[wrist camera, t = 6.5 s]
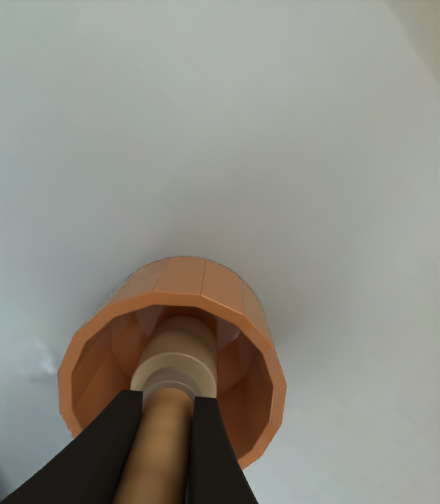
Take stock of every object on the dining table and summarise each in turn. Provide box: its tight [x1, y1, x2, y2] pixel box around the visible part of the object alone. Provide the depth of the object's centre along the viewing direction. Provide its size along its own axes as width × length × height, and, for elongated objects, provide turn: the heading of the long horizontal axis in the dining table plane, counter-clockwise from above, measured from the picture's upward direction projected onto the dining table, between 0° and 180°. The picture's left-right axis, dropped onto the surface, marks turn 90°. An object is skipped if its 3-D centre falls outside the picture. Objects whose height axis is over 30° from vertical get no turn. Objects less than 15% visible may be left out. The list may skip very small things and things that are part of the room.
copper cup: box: [58, 257, 287, 470], centre depth 13 cm, size 8×8×5 cm
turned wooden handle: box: [112, 316, 217, 504], centre depth 9 cm, size 3×3×10 cm
